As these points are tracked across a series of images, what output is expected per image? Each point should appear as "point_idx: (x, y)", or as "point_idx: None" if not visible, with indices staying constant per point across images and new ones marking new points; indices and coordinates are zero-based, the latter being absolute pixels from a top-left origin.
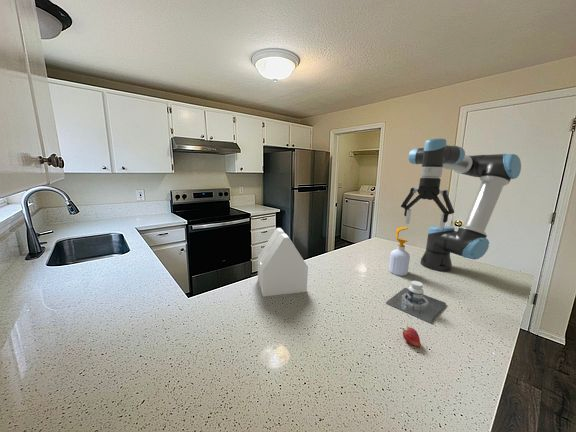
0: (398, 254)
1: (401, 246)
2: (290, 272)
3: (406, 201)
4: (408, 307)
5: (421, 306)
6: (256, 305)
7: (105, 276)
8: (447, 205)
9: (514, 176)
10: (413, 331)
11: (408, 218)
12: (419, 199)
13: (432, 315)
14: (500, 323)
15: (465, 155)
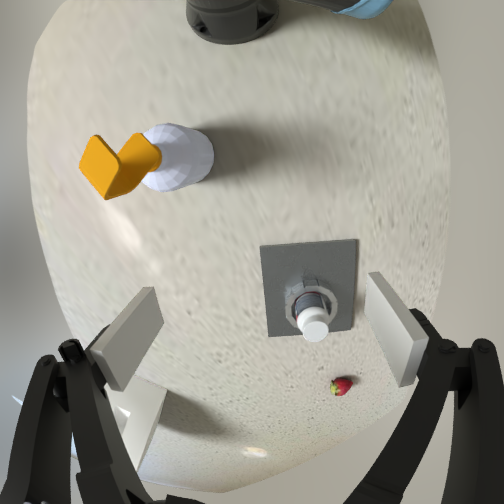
0: (169, 186)
1: (154, 169)
2: (152, 430)
3: (68, 436)
4: None
5: (330, 321)
6: (175, 432)
7: None
8: (460, 441)
9: None
10: (344, 393)
11: (145, 332)
12: (120, 469)
13: (348, 312)
14: (434, 225)
15: None
